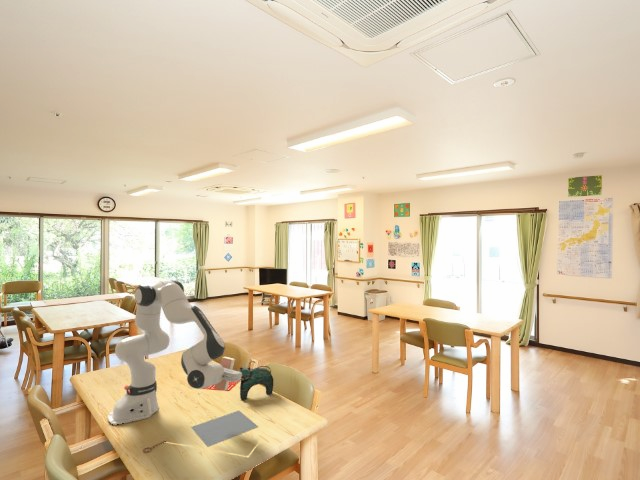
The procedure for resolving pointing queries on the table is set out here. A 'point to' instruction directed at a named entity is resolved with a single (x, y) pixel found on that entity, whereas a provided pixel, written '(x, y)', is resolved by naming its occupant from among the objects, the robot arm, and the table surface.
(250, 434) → the table surface
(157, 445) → the key
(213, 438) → the mat
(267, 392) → the ceramic cat
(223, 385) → the block
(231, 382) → the maze puzzle
